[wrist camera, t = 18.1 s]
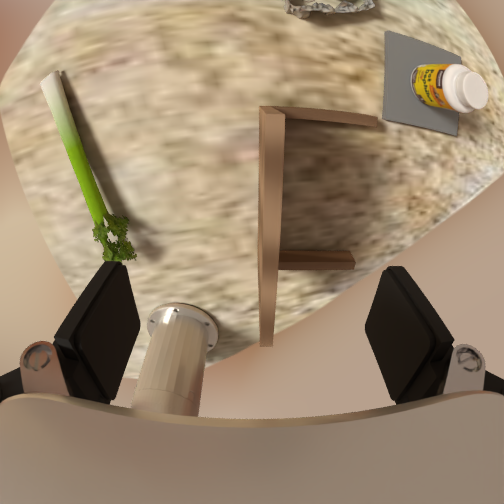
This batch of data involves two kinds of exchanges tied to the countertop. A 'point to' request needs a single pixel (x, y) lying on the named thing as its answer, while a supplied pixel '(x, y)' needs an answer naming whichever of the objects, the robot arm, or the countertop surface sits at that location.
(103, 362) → the robot arm
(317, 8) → the egg carton
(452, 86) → the supplement bottle
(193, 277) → the countertop surface
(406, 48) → the slate mat
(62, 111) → the green celery stalk
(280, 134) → the walnut rack
